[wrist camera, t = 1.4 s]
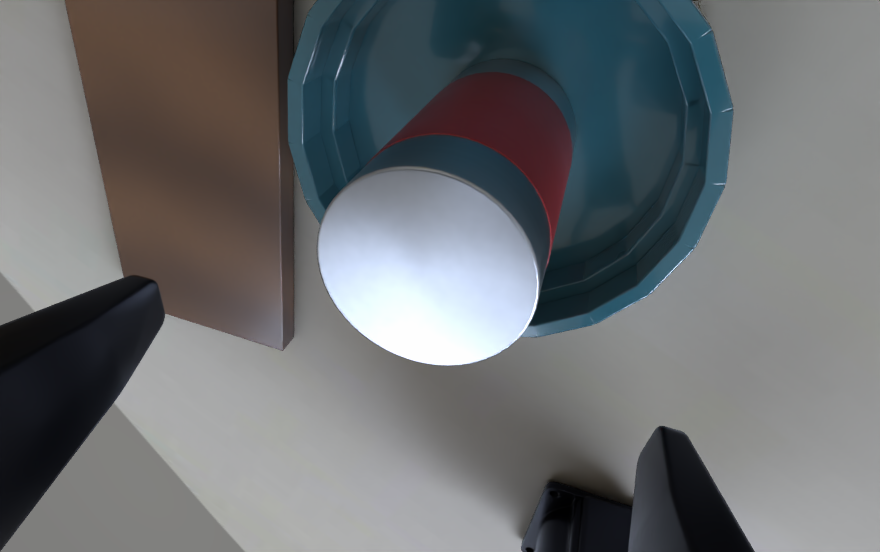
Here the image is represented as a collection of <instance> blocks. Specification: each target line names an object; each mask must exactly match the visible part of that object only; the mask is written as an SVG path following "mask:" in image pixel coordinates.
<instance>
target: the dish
mask: <svg viewBox="0 0 880 552" xmlns="http://www.w3.org/2000/svg"><path fill="white" fill-rule="evenodd" d="M496 59H511V60H517V61H521V62H525V63H528V64H531V65H533V66H535V67H537V68H539V69H540V70H542V71H544V72H545V73H547V74H548V75H549V76H550V77H551V78H553V79H554V80H555V81H556V82H557V84H558V85H559V86H560V87H561V88H562V90H563V91H564V93H565V94H566V96H567V98H568V100H569V102H570V104H571V106H572V109H573V112H574V117H575V122H576V141H575V146H574V150H573V155H572V163H571V167H570V171H569V176H568V180H567V184H566V189H565V193H564V198H563V202H562V206H561V211H560V215H559V219H558V224H557V228H556V232H555V237H554V241H553V245H552V250H551V254H550V258H549V263H548V265H547V268H546V270H545V274H544V279H543V283H542V287H541V291H540V296H539V300H538V304H537V308H536V311H535V313H534V316H533V318H532V320H531V322H530V324H529V325H528V327H527V328H526V330H525V331H524V332H523V334H522V335H521V336H520V337H537V336H538V337H541V336H546V335H550V334H555V333H559V332H564V331H568V330H573V329H578V328H582V327H587V326H591V325H594V324H597V323H599V322H601V321H603V320H605V319H606V318H608V317H610V316H612V315H614V314H616V313H617V312H619V311H621V310H623V309H625V308H627V307H629V306H630V305H632V304H634V303H636V302H638V301H640V300H641V299H643V298H645V297H647V296H648V295H649V294H651V293H652V292H653V291H654V290H655V289H656V288H657V287H658V286H659V285H660V284H661V283H662V282H663V281H664V280H665V279H666V278H667V277H668V276H669V275H670V274H671V273H672V272H673V271H674V269H675V268H676V267H677V266H678V265H679V264H680V263H681V262H682V261H683V260H684V259H685V258H686V257H687V256H688V255H689V254H690V253H691V252H692V251H693V250H694V248H695V247H696V246H697V244H698V242H699V240H700V238H701V236H702V233H703V231H704V229H705V227H706V225H707V223H708V221H709V219H710V217H711V215H712V213H713V211H714V208H715V206H716V204H717V202H718V200H719V198H720V196H721V194H722V192H723V190H724V188H725V184H726V181H727V171H728V161H729V151H730V141H731V131H732V121H733V104H732V100H731V96H730V93H729V89H728V85H727V81H726V78H725V74H724V70H723V67H722V63H721V59H720V55H719V52H718V48H717V44H716V40H715V37H714V33H713V31H712V29H711V26H710V25H709V23H708V22H707V20H706V19H705V17H704V16H703V14H702V13H701V11H700V10H699V8H698V7H697V6H696V4H695V3H694V2H693V0H317V1H316V2H315V4H314V5H313V6H312V8H311V9H310V10H309V12H308V15H307V17H306V20H305V23H304V27H303V30H302V33H301V36H300V39H299V43H298V46H297V49H296V52H295V56H294V59H293V62H292V65H291V69H290V72H289V75H288V80H287V87H288V142H289V143H288V144H289V147H290V151H291V154H292V157H293V161H294V164H295V168H296V171H297V174H298V178H299V181H300V184H301V188H302V191H303V194H304V198H305V200H306V202H307V204H308V206H309V207H310V209H311V210H312V212H313V214H314V215H315V217H316V219H317V220H318V222H319V223H320V224H321V220H322V218H323V216H324V213H325V211H326V209H327V208H328V206H329V204H330V203H331V201H332V200H333V199H334V197H335V196H336V195H337V194H338V193H339V192H340V191H341V190H342V189H343V188H344V187H345V186H346V185H347V184H348V183H349V182H350V181H351V180H352V179H353V178H354V177H355V176H356V175H357V174H358V173H359V172H360V171H361V170H362V169H363V168H364V167H365V166H366V164H367V163H368V162H369V161H370V160H371V159H372V158H373V157H374V156H375V155H376V154H377V153H378V152H379V151H380V150H381V149H382V148H383V147H384V146H385V145H386V144H387V143H388V142H389V141H390V140H391V139H392V138H393V137H394V136H395V135H396V134H397V133H398V132H399V131H400V130H401V129H402V128H403V127H404V126H405V125H406V124H407V123H408V122H409V121H410V120H411V119H412V118H414V117H415V116H416V115H417V114H418V113H419V112H420V111H421V110H422V109H423V108H424V107H425V106H426V105H427V104H428V103H429V102H430V101H431V100H432V99H433V98H434V97H435V96H436V95H437V94H438V93H439V92H440V91H441V90H443V89H444V88H445V87H446V86H448V85H449V84H450V83H451V82H452V81H453V80H454V79H455V78H456V77H457V76H458V75H459V74H461V73H462V72H463V71H465V70H467V69H468V68H470V67H472V66H474V65H476V64H479V63H481V62H485V61H489V60H496Z"/></svg>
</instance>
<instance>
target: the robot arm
mask: <svg viewBox="0 0 880 552" xmlns="http://www.w3.org/2000/svg"><path fill="white" fill-rule="evenodd" d="M164 318H165V310H164V306H163V302H162V298H161V294H160V289H159V286H158V284H157V282H156V281H155V280H153V279H150V278H146V277H143V276H139V275H130V276H127V277H124V278H122V279H119V280H116V281H114V282H111V283H109V284H106V285H103V286H101V287H98V288H96V289H93V290H91V291H88V292H85V293H83V294H80V295H78V296H75V297H72V298H70V299H67V300H65V301H62V302H60V303H57V304H54V305H52V306H49V307H47V308H44V309H41V310H39V311H36V312H34V313H31V314H29V315H26V316H23V317H21V318H19V319H16V320H13V321H11V322H8V323H5V324H3V325H0V551H1V550H2V549H3V547H4V546H5V544H6V543H7V542H8V541H9V539H10V538H11V537H12V535H13V534H14V533H15V532H16V530H17V529H18V528H19V526H20V525H21V524H22V522H23V521H24V520H25V518H26V517H27V516H28V515H29V513H30V512H31V511H32V509H33V508H34V507H35V505H36V504H37V503H38V501H39V500H40V499H41V497H42V496H43V495H44V493H45V492H46V491H47V490H48V488H49V487H50V486H51V484H52V483H53V482H54V480H55V479H56V478H57V476H58V475H59V474H60V472H61V471H62V470H63V468H64V467H65V466H66V465H67V463H68V462H69V461H70V459H71V458H72V457H73V455H74V454H75V453H76V452H77V450H78V449H79V448H80V446H81V445H82V444H83V442H84V441H85V440H86V438H87V437H88V436H89V434H90V433H91V432H92V431H93V429H94V428H95V427H96V425H97V424H98V423H99V421H100V420H101V419H102V417H103V416H104V415H105V413H106V412H107V411H108V409H109V408H110V407H111V406H112V404H113V403H114V401H115V400H116V399H117V397H118V396H119V395H120V393H121V392H122V390H123V388H124V387H125V385H126V384H127V382H128V381H129V379H130V377H131V376H132V374H133V372H134V371H135V369H136V367H137V366H138V364H139V363H140V361H141V359H142V358H143V356H144V354H145V353H146V351H147V349H148V348H149V346H150V344H151V343H152V341H153V339H154V338H155V336H156V335H157V333H158V331H159V330H160V328H161V326H162V324H163V322H164ZM521 550H522V551H523V552H755V551H754V550H753V548H752V546H751V544H750V543H749V541H748V539H747V538H746V536H745V534H744V532H743V531H742V529H741V527H740V526H739V524H738V522H737V520H736V519H735V517H734V515H733V513H732V512H731V510H730V508H729V507H728V505H727V503H726V501H725V500H724V498H723V496H722V495H721V493H720V491H719V489H718V488H717V486H716V484H715V482H714V481H713V479H712V477H711V476H710V474H709V472H708V470H707V469H706V467H705V465H704V464H703V462H702V460H701V458H700V457H699V455H698V453H697V451H696V450H695V448H694V446H693V445H692V443H691V441H690V439H689V438H688V436H687V435H686V434H685V433H684V432H682V431H679V430H676V429H672V428H669V427H665V426H659V427H658V428H656V430H655V431H654V433H653V434H652V436H651V437H650V439H649V441H648V442H647V444H646V445H645V447H644V448H643V450H642V452H641V453H640V456H639V459H638V463H637V470H636V479H635V489H634V498H633V507H630V506H627V505H624V504H621V503H618V502H615V501H612V500H609V499H606V498H603V497H600V496H597V495H594V494H591V493H588V492H585V491H582V490H579V489H576V488H572V487H569V486H566V485H563V484H560V483H557V482H549V483H547V484H546V486H545V488H544V491H543V493H542V495H541V498H540V500H539V503H538V505H537V507H536V510H535V512H534V514H533V517H532V519H531V522H530V524H529V526H528V529H527V531H526V534H525V536H524V538H523V541H522V546H521Z"/></svg>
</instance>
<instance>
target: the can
mask: <svg viewBox="0 0 880 552" xmlns="http://www.w3.org/2000/svg"><path fill="white" fill-rule="evenodd" d="M575 141H576V122H575V117H574V112H573V109H572V106H571V104H570V102H569V100H568V98H567V96H566V94H565V93H564V91H563V90H562V88H561V87H560V86H559V85H558V84H557V82H556V81H555V80H554V79H553V78H551V77H550V76H549V75H548V74H547V73H545V72H544V71H542V70H540V69H539V68H537V67H535V66H533V65H531V64H528V63H525V62H521V61H517V60H511V59H496V60H489V61H485V62H481V63H479V64H476V65H474V66H472V67H470V68H468V69H467V70H465V71H463V72H462V73H461V74H459V75H458V76H457V77H456V78H455V79H454V80H453V81H452V82H451V83H450V84H449V85H448V86H446V87H445V88H444V89H443V90H441V91H440V92H439V93H438V94H437V95H436V96H435V97H434V98H433V99H432V100H431V101H430V102H429V103H428V104H427V105H426V106H425V107H424V108H423V109H422V110H421V111H420V112H419V113H418V114H417V115H416V116H415V117H414V118H412V119H411V120H410V121H409V122H408V123H407V124H406V125H405V126H404V127H403V128H402V129H401V130H400V131H399V132H398V133H397V134H396V135H395V136H394V137H393V138H392V139H391V140H390V141H389V142H388V143H387V144H386V145H385V146H384V147H383V148H382V149H381V150H380V151H379V152H378V153H377V154H376V155H375V156H374V157H373V158H372V159H371V160H370V161H369V162H368V163H367V164H366V166H365V167H364V168H363V169H362V170H361V171H360V172H359V173H358V174H357V175H356V176H355V177H354V178H353V179H352V180H351V181H350V182H349V183H348V184H347V185H346V186H345V187H344V188H343V189H342V190H341V191H340V192H339V193H338V194H337V195H336V196H335V197H334V199H333V200H332V201H331V203H330V204H329V206H328V208H327V209H326V211H325V213H324V216H323V218H322V220H321V224H320V228H319V232H318V240H317V259H318V265H319V270H320V273H321V277H322V280H323V283H324V285H325V287H326V289H327V292H328V294H329V296H330V297H331V299H332V301H333V302H334V304H335V306H336V307H337V308H338V310H339V311H340V312H341V314H342V315H343V316H344V317H345V318H346V320H347V321H348V322H349V323H350V324H351V325H352V326H353V327H354V328H355V329H356V330H358V331H359V332H360V333H361V334H362V335H363V336H365V337H366V338H368V339H369V340H370V341H372V342H373V343H375V344H376V345H378V346H380V347H381V348H383V349H385V350H387V351H389V352H391V353H393V354H395V355H397V356H400V357H403V358H406V359H408V360H412V361H416V362H419V363H424V364H430V365H439V366H457V365H466V364H471V363H476V362H479V361H482V360H486V359H488V358H490V357H492V356H495V355H497V354H499V353H500V352H502V351H503V350H505V349H506V348H508V347H509V346H510V345H511V344H513V343H514V342H515V341H516V340H517V339H518V338H519V337H520V336H521V335H522V334H523V332H524V331H525V330H526V328H527V327H528V325H529V324H530V322H531V320H532V318H533V316H534V313H535V311H536V308H537V304H538V300H539V296H540V291H541V287H542V283H543V279H544V274H545V270H546V268H547V265H548V263H549V258H550V254H551V250H552V245H553V241H554V237H555V232H556V228H557V224H558V219H559V215H560V211H561V206H562V202H563V198H564V193H565V189H566V184H567V180H568V176H569V171H570V167H571V163H572V155H573V150H574V146H575Z"/></svg>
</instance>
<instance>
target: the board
mask: <svg viewBox="0 0 880 552" xmlns="http://www.w3.org/2000/svg"><path fill="white" fill-rule="evenodd" d="M65 4H66V9H67V14H68V18H69V23H70V28H71V32H72V37H73V42H74V46H75V51H76V56H77V60H78V65H79V70H80V75H81V79H82V84H83V89H84V93H85V98H86V103H87V107H88V112H89V117H90V121H91V126H92V131H93V135H94V140H95V145H96V149H97V154H98V159H99V164H100V168H101V173H102V178H103V182H104V187H105V192H106V196H107V201H108V206H109V210H110V215H111V220H112V224H113V229H114V234H115V238H116V243H117V248H118V252H119V257H120V262H121V267H122V271H123V276H124V277H127V276H130V275H139V276H143V277H146V278H150V279H153V280H155V281H156V282H157V284H158V286H159V289H160V294H161V298H162V302H163V306H164V310H165V314H168V315H171V316H174V317H178V318H181V319H184V320H187V321H190V322H193V323H196V324H200V325H203V326H206V327H209V328H212V329H215V330H219V331H222V332H225V333H228V334H231V335H234V336H237V337H241V338H244V339H247V340H250V341H253V342H256V343H259V344H263V345H266V346H269V347H272V348H275V349H278V350H282V351H283V350H284V349H285V348H286V346H287V345H288V344H289V343H290V341H291V340H292V339H293V337H294V204H293V157H292V154H291V151H290V147H289V144H288V143H289V142H288V87H287V80H288V75H289V72H290V69H291V65H292V62H293V0H65Z"/></svg>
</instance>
